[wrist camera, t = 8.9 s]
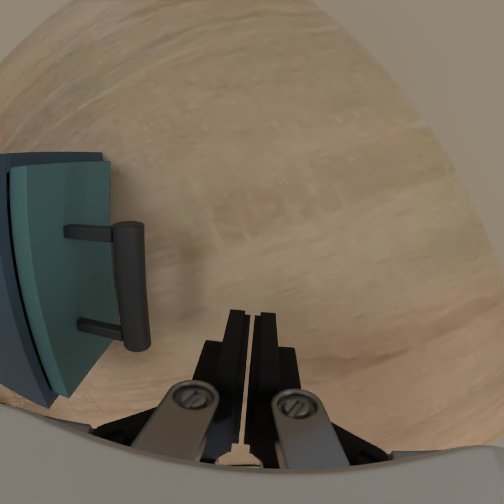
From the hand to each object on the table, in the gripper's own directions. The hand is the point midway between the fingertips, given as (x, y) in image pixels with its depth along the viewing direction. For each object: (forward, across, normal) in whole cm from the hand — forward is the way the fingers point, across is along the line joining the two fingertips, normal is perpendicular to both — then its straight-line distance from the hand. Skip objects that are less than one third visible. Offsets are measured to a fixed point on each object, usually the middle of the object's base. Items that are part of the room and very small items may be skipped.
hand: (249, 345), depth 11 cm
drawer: (+6, +13, -1) cm, 15 cm away
